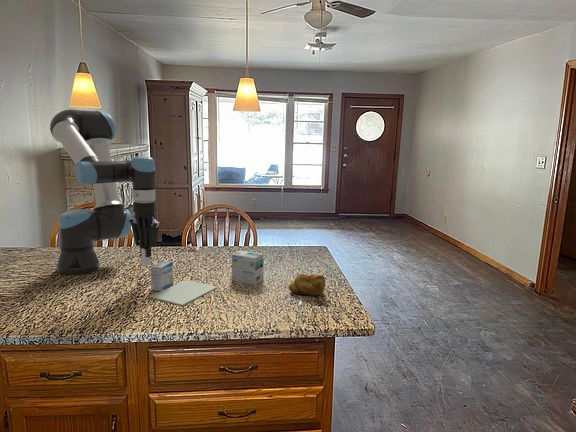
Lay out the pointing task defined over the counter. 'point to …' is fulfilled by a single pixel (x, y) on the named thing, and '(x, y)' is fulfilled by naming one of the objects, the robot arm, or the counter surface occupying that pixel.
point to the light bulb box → (247, 267)
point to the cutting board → (183, 292)
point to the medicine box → (161, 275)
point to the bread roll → (308, 285)
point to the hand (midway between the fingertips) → (146, 265)
